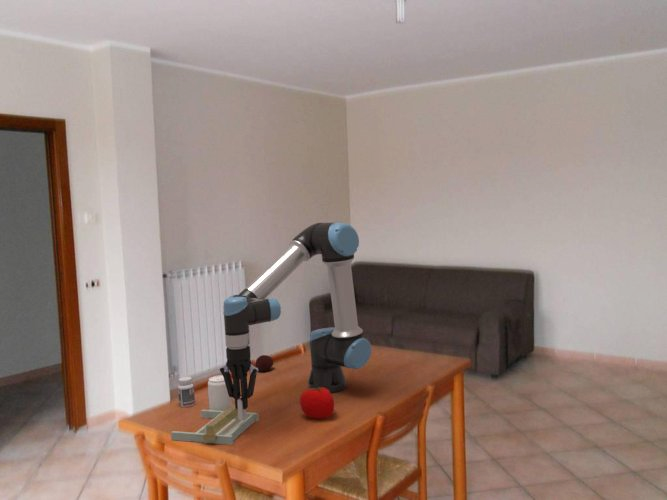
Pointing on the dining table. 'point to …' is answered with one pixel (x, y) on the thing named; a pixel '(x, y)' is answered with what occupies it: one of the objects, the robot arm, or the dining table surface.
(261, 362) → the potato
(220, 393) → the grey cylindrical container
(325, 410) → the tomato
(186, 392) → the pill bottle
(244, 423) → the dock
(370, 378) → the dining table surface
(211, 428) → the bar
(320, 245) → the robot arm
